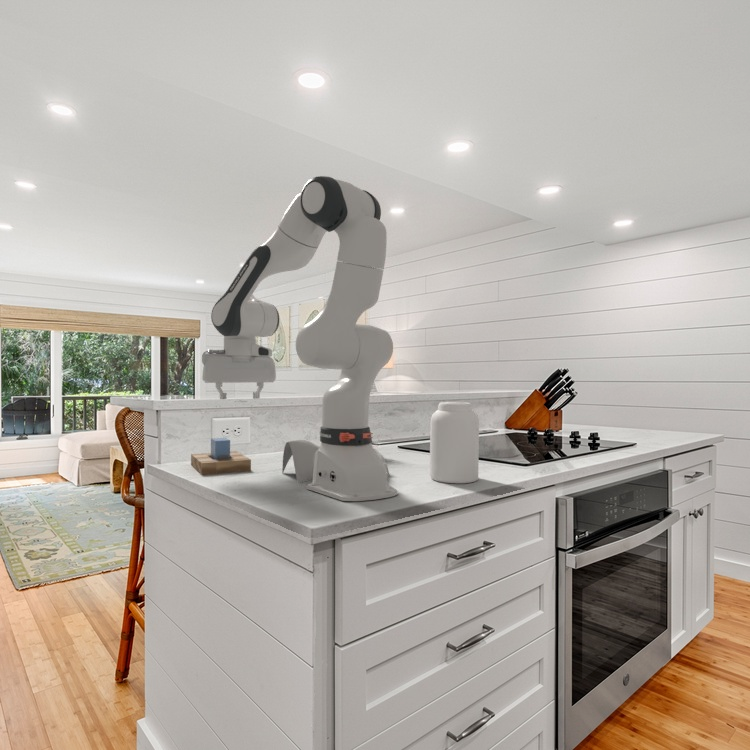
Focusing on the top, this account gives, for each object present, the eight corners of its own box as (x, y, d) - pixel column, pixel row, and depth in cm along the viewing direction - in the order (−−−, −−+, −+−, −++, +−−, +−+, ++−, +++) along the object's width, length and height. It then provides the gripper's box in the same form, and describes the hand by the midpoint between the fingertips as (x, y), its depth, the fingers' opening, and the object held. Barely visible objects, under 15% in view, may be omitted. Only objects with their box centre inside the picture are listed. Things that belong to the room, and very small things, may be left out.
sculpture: (362, 466, 152) (362, 433, 152) (391, 478, 135) (392, 441, 135) (278, 472, 141) (279, 436, 141) (299, 486, 124) (300, 446, 124)
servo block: (231, 469, 142) (231, 440, 142) (216, 471, 140) (216, 441, 140) (223, 464, 150) (224, 437, 150) (209, 465, 148) (209, 437, 148)
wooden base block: (250, 470, 141) (250, 459, 141) (201, 474, 135) (201, 463, 135) (236, 461, 155) (236, 451, 155) (191, 464, 149) (191, 454, 149)
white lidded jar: (440, 485, 126) (442, 403, 126) (422, 475, 138) (423, 400, 138) (487, 483, 129) (488, 403, 129) (465, 473, 141) (466, 400, 141)
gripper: (204, 348, 138) (204, 400, 138) (277, 350, 149) (277, 398, 148) (199, 349, 144) (199, 399, 144) (270, 351, 154) (270, 397, 154)
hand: (240, 398), depth 146 cm, fingers open, 8 cm apart
